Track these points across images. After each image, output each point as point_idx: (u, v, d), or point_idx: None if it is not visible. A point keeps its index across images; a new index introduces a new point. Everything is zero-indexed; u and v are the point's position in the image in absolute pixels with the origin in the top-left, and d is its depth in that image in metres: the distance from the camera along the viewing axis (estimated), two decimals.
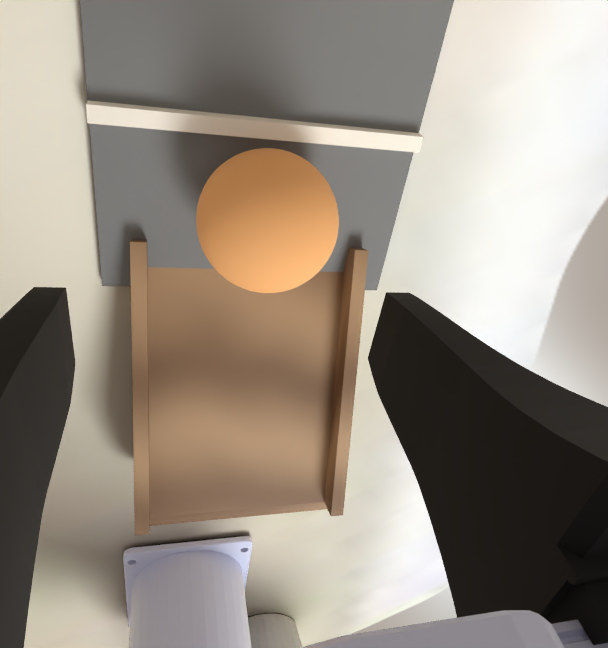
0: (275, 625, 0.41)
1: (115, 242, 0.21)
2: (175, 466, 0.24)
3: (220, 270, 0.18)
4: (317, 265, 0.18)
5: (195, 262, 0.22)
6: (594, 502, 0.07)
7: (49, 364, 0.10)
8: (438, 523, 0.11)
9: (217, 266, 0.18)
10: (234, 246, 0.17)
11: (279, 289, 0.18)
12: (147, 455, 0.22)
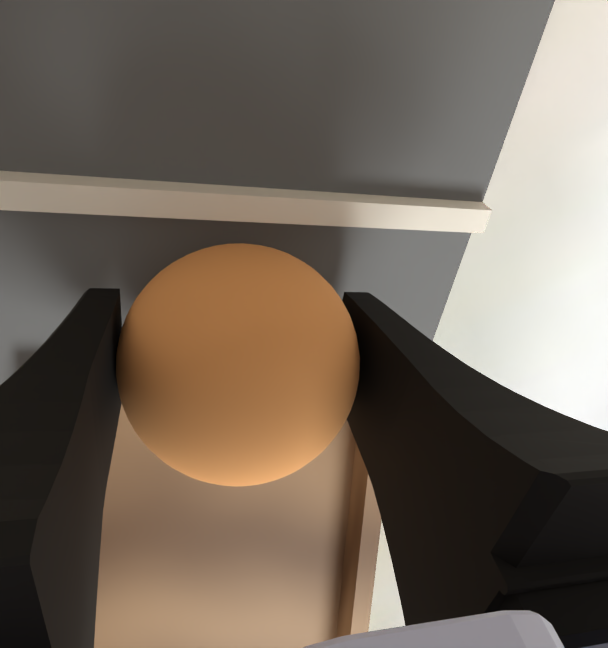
0: None
1: (4, 374, 0.13)
2: None
3: None
4: (324, 447, 0.10)
5: None
6: (523, 509, 0.07)
7: (110, 363, 0.10)
8: (389, 528, 0.10)
9: (151, 450, 0.10)
10: (173, 436, 0.09)
11: (259, 483, 0.11)
12: None
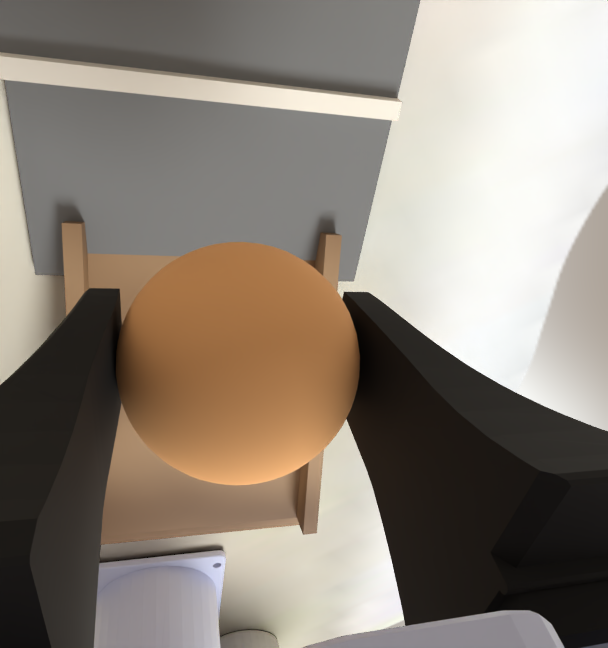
0: (254, 642, 0.38)
1: (47, 224, 0.18)
2: (126, 479, 0.21)
3: (156, 454, 0.10)
4: (324, 446, 0.10)
5: (143, 248, 0.19)
6: (524, 510, 0.07)
7: (110, 363, 0.10)
8: (389, 529, 0.10)
9: None
10: (173, 435, 0.09)
11: (258, 482, 0.11)
12: None
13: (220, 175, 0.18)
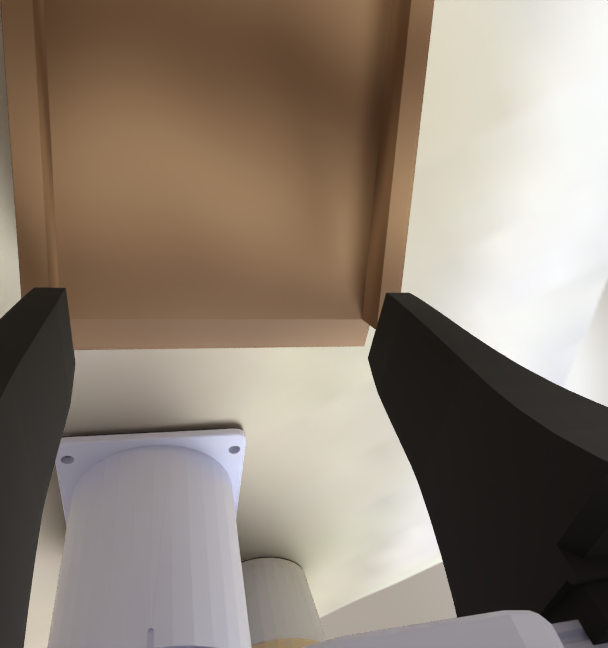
0: (278, 571, 0.30)
1: None
2: (103, 222, 0.14)
3: None
4: None
5: None
6: (594, 502, 0.07)
7: (49, 364, 0.10)
8: (438, 524, 0.11)
9: None
10: None
11: None
12: (39, 165, 0.12)
13: None
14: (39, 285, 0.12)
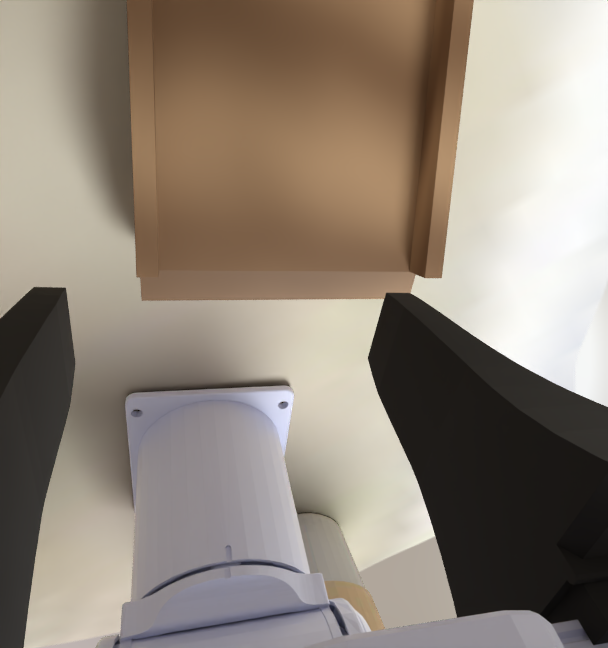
0: (318, 525, 0.33)
1: None
2: (195, 187, 0.16)
3: None
4: None
5: None
6: (594, 503, 0.07)
7: (49, 364, 0.10)
8: (438, 523, 0.11)
9: None
10: None
11: None
12: (153, 136, 0.14)
13: None
14: (149, 237, 0.15)
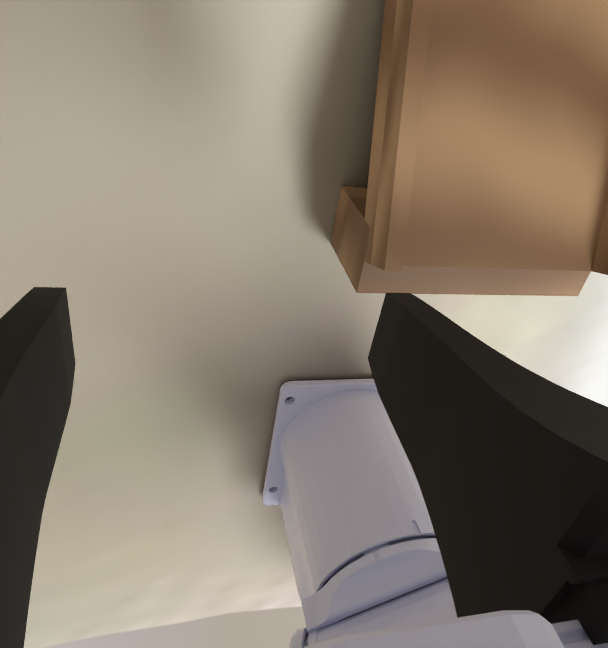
0: None
1: None
2: (426, 190, 0.18)
3: None
4: None
5: None
6: (594, 502, 0.07)
7: (49, 364, 0.10)
8: (438, 524, 0.11)
9: None
10: None
11: None
12: (414, 145, 0.16)
13: None
14: (399, 235, 0.17)
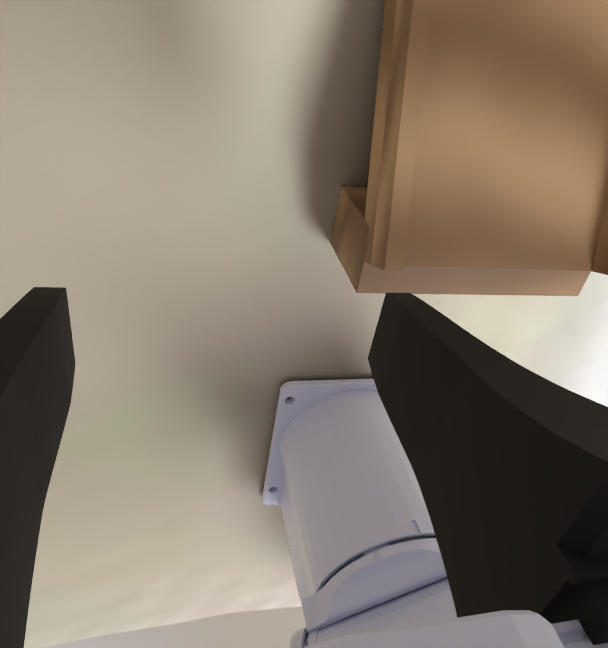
0: None
1: None
2: (426, 190, 0.18)
3: None
4: None
5: None
6: (594, 502, 0.07)
7: (49, 364, 0.10)
8: (438, 524, 0.11)
9: None
10: None
11: None
12: (414, 145, 0.16)
13: None
14: (399, 235, 0.17)
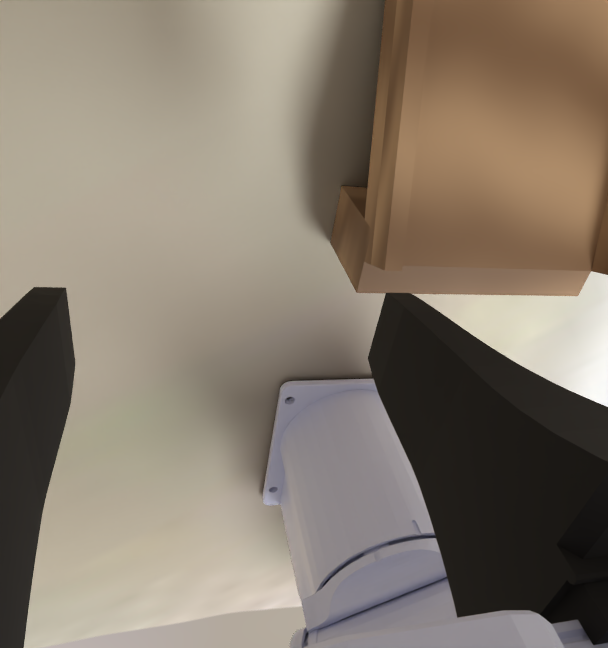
0: None
1: None
2: (426, 190, 0.18)
3: None
4: None
5: None
6: (594, 502, 0.07)
7: (49, 364, 0.10)
8: (438, 524, 0.11)
9: None
10: None
11: None
12: (414, 145, 0.16)
13: None
14: (399, 235, 0.17)
